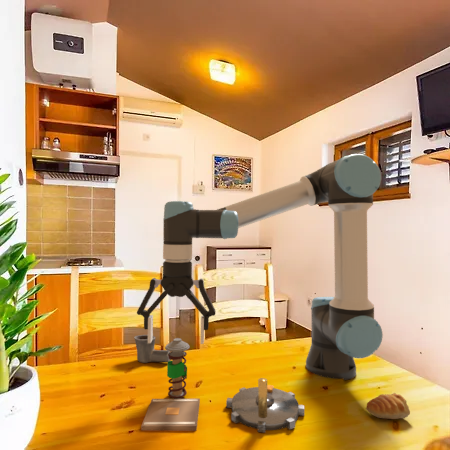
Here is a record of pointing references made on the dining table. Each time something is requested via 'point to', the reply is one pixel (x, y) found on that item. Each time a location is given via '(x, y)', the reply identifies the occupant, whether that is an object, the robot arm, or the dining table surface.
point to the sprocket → (265, 407)
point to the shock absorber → (177, 368)
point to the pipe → (149, 351)
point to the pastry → (388, 406)
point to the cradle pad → (172, 415)
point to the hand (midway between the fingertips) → (176, 342)
